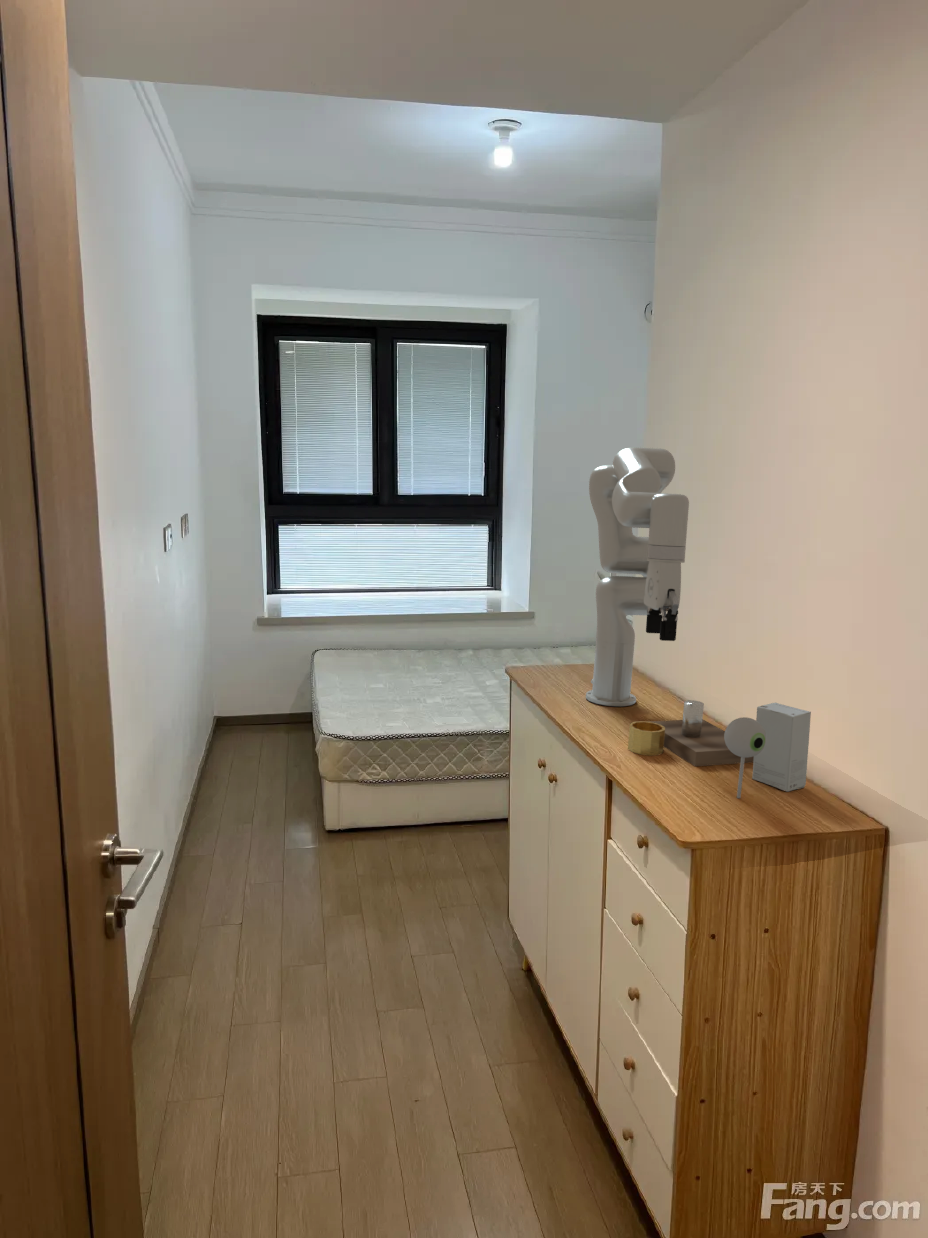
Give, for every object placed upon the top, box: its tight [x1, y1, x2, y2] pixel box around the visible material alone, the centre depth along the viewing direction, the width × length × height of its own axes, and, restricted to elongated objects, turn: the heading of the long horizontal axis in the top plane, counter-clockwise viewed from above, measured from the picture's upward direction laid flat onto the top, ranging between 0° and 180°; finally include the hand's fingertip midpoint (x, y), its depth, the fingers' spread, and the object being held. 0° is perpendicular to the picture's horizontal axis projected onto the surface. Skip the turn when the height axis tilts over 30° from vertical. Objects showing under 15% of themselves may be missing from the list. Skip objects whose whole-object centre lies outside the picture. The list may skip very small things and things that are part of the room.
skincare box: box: [751, 702, 812, 792], centre depth 159 cm, size 8×6×15 cm
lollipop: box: [724, 717, 766, 799], centre depth 151 cm, size 7×7×15 cm
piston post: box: [681, 699, 705, 738], centre depth 177 cm, size 4×4×7 cm
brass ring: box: [627, 720, 665, 756], centre depth 176 cm, size 7×7×5 cm
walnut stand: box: [650, 718, 754, 767], centre depth 179 cm, size 20×14×3 cm
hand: (660, 636), depth 175 cm, fingers open, 9 cm apart
